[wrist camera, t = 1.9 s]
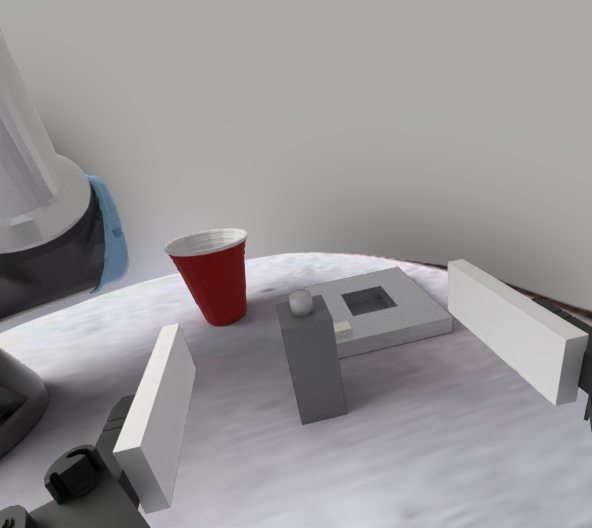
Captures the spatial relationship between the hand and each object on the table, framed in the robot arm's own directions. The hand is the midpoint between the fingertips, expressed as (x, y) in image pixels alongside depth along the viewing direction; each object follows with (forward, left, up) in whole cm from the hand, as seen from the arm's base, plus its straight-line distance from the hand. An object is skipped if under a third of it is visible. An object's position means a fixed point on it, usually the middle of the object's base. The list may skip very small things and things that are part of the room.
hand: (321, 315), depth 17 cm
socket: (-15, +19, -16) cm, 29 cm away
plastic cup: (-31, +7, -16) cm, 35 cm away
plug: (-9, +5, -16) cm, 19 cm away
